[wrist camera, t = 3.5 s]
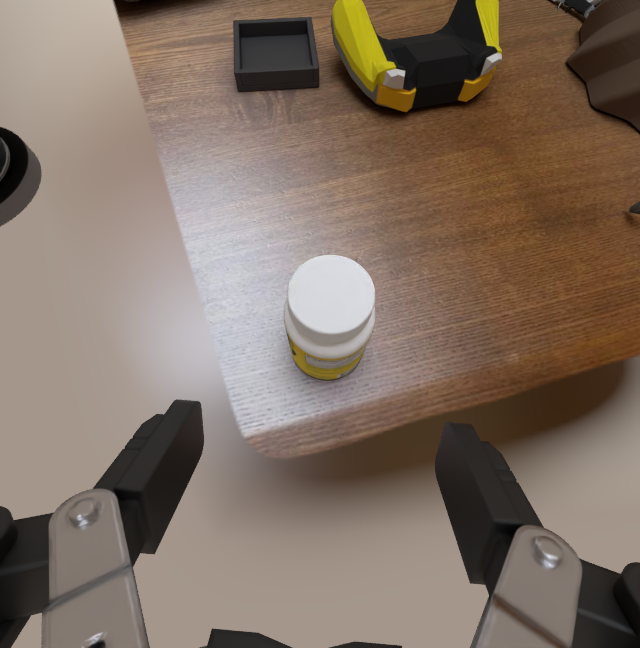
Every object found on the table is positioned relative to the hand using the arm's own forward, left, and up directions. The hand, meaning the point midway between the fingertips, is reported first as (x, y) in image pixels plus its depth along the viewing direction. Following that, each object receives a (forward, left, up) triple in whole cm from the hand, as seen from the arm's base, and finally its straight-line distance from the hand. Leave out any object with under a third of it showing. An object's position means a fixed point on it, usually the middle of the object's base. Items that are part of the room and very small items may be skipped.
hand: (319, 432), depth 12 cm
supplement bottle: (+1, +6, -11) cm, 12 cm away
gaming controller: (+12, +32, -11) cm, 36 cm away
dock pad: (-1, +35, -10) cm, 36 cm away
